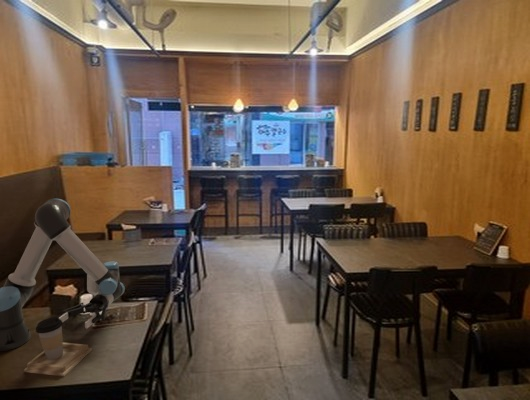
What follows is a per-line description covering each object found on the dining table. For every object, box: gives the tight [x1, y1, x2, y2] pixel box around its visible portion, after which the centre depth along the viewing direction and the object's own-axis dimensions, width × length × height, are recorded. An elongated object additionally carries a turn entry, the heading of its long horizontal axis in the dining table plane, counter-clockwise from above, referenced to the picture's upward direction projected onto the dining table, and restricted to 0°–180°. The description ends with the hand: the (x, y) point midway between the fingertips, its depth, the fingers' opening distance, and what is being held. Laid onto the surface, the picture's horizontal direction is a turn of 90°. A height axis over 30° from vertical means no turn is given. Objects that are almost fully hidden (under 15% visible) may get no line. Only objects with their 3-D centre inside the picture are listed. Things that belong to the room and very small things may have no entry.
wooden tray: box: [23, 341, 93, 377], centre depth 151 cm, size 17×17×3 cm
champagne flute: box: [86, 273, 102, 317], centre depth 188 cm, size 7×7×24 cm
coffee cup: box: [35, 316, 64, 360], centre depth 151 cm, size 9×9×15 cm
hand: (71, 324), depth 158 cm, fingers open, 13 cm apart
